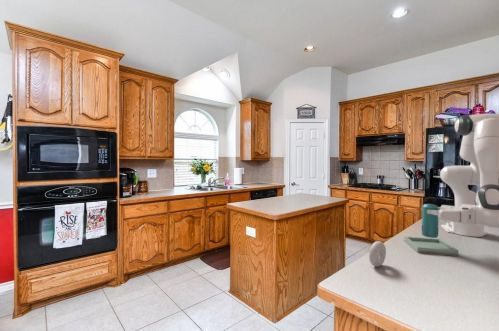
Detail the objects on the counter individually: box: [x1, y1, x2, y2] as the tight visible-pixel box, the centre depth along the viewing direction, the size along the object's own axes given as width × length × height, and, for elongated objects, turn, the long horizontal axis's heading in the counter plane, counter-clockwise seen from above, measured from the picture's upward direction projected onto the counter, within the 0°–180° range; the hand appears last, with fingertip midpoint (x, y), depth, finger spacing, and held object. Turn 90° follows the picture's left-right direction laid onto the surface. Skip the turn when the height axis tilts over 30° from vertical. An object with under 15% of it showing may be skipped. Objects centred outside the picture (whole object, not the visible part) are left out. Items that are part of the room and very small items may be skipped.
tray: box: [403, 236, 459, 257], centre depth 119 cm, size 16×16×2 cm
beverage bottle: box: [421, 196, 439, 239], centre depth 119 cm, size 6×7×20 cm
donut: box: [368, 240, 387, 268], centre depth 99 cm, size 10×4×10 cm, turn 129°
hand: (427, 210), depth 119 cm, fingers closed on beverage bottle, 6 cm apart
